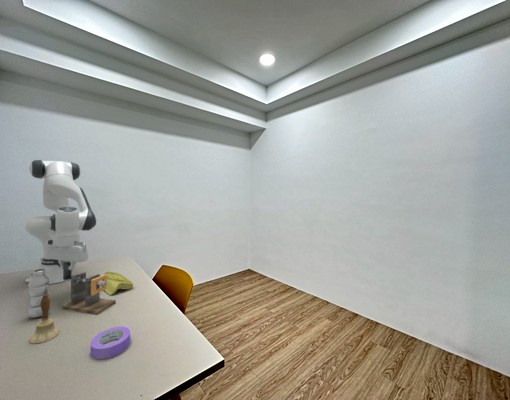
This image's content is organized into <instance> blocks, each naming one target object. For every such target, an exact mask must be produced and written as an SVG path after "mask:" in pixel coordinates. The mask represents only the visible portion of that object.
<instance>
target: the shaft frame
mask: <svg viewBox="0 0 510 400" xmlns="http://www.w3.org/2000/svg"><path fill="white" fill-rule="evenodd" d="M100 276H101V275H100V274H99V273H96V274H94V275H91V276H89V277H87V272H81V273H78V274H76V275H72V277H71V281H70V302H68V303H66V304H64V305H62V306H61V307H62V308H61V309H62V310H65V311H72V312H77V313H84V314H90V315H100V314H102V312H104V311H105V310H107V309H109V308H111V307H112V306H114V305H115V304H116V303H117V301H116V299H115V300H113V299H108V298H107V299H106V298H102V297H100V295H101V294H100V293H101V292H99V293H97V294H95V295H91V280H92V279H95V278H97V277H100ZM77 278H86V279H85V283H80V282H77ZM100 286H101V285H96V289H98V288H100Z"/></svg>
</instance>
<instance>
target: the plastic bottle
mask: <svg viewBox="0 0 510 400" xmlns="http://www.w3.org/2000/svg"><path fill="white" fill-rule="evenodd" d="M45 274H46V272H45V269H38V270H35V271H34V272H33V276H34V277H33V278H32V279H31V280H30V282H29V283H27V285H28V291H29V296H30V303H29V308H28V312H27V313H28V316H29V318H32V319H36V318H42V310H41V306H40V303H41V299H42V297H43V295H44V294H48V295H49V288H50V284H49V283H50V280H49V278H48V277H47V276H46V275H45ZM50 309H51V305H50V306H49V309H48V313H49V312H50Z"/></svg>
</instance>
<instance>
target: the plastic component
mask: <svg viewBox="0 0 510 400" xmlns="http://www.w3.org/2000/svg"><path fill="white" fill-rule="evenodd" d="M104 274H105V275H107V285H106V289H105V290H104V292H105V293H106V294H108V295H110V296H113V295H114V294H115V293H116V292H117V291H118V290H121V289H122V290H131V289H132V288H133V286H134V282H133V281H131V280H129V278H127V277H126V276H124V275H122V274H120V273H118V272H114V271H108V270H107V271H105V272H104Z"/></svg>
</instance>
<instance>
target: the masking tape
mask: <svg viewBox="0 0 510 400" xmlns="http://www.w3.org/2000/svg"><path fill="white" fill-rule="evenodd" d="M114 340H116V341H114ZM110 341H113V342H111V343H107V342H110ZM105 343H106V344H105ZM130 344H131V329H130V328H129V327H126V326H114V327H110V328H108V329H105V330H103V331H101V332H99V333H98V334H96V335H95V336H94V337H93V338H92V340H91V341H90V356H91V357H92V358H93V359H97V360H105V359H109V358H112V357H115V356H117V355H119V354H121V353H123V352H124V351H125V350H126V349H127V348H128V347H129V346H130Z"/></svg>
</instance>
